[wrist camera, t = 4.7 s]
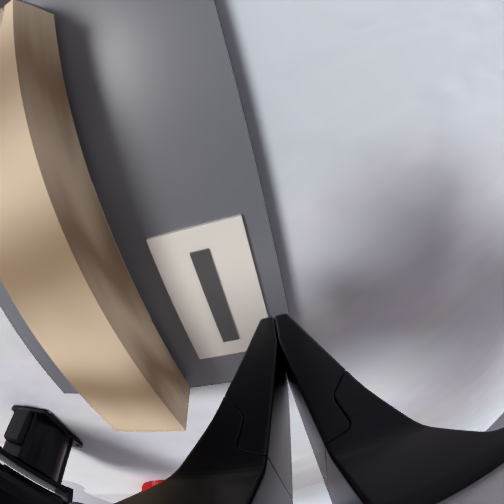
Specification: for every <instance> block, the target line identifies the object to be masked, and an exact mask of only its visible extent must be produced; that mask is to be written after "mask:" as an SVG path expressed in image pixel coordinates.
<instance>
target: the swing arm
mask: <svg viewBox="0 0 504 504" xmlns="http://www.w3.org/2000/svg"><path fill="white" fill-rule="evenodd" d="M0 279H1V281H2V283H3V285H4V287H5V288H6V290H7V292H8V294H9V296H10V297H11V299H12V301H13V303H14V304H15V306H16V308H17V309H18V311H19V313H20V314H21V316H22V317H23V319H24V321H25V322H26V324H27V325H28V327H29V328H30V330H31V331H32V333H33V334H34V336H35V337H36V339H37V340H38V342H39V343H40V344H41V346H42V347H43V349H44V350H45V351H46V353H47V354H48V355H49V357H50V358H51V359H52V361H53V362H54V363H55V365H56V366H57V367H58V368H59V370H60V371H61V372H62V373H63V375H64V376H65V377H66V378H67V380H68V381H69V382H70V383H71V384H72V386H73V387H74V388H75V389H76V390H77V391H78V392H79V394H80V395H81V396H82V397H83V398H84V399H85V400H86V401H87V402H88V404H89V405H90V406H91V407H92V408H93V409H94V410H95V411H96V412H97V413H98V414H99V415H100V416H101V417H102V418H103V419H104V420H105V421H106V422H107V423H108V424H109V425H110V426H111V427H112V428H113V429H114V430H115V431H128V432H161V431H185V430H186V423H187V413H188V403H189V394H190V386H189V385H188V383H187V381H186V380H185V378H184V376H183V375H182V373H181V372H180V370H179V368H178V366H177V365H176V363H175V361H174V360H173V358H172V356H171V355H170V353H169V351H168V349H167V348H166V346H165V344H164V342H163V340H162V339H161V337H160V335H159V333H158V331H157V329H156V327H155V326H154V324H153V322H152V320H151V318H150V316H149V314H148V312H147V310H146V308H145V306H144V304H143V302H142V300H141V298H140V296H139V294H138V292H137V290H136V288H135V286H134V284H133V282H132V280H131V278H130V275H129V273H128V271H127V269H126V267H125V264H124V262H123V260H122V258H121V255H120V253H119V251H118V248H117V246H116V244H115V241H114V239H113V237H112V234H111V232H110V229H109V227H108V224H107V222H106V219H105V217H104V214H103V211H102V209H101V206H100V203H99V201H98V198H97V195H96V192H95V189H94V187H93V184H92V181H91V178H90V175H89V172H88V169H87V166H86V163H85V159H84V156H83V153H82V150H81V146H80V143H79V139H78V136H77V132H76V129H75V125H74V121H73V117H72V113H71V109H70V105H69V101H68V97H67V92H66V88H65V83H64V78H63V73H62V68H61V62H60V56H59V50H58V44H57V36H56V29H55V20H54V14H52V13H50V12H47V11H45V10H44V9H43V8H42V7H40V6H38V5H35V4H32V3H30V2H27V1H24V0H0Z"/></svg>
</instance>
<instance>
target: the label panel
mask: <svg viewBox="0 0 504 504" xmlns="http://www.w3.org/2000/svg"><path fill="white" fill-rule="evenodd" d="M24 1H27V2H30V3H32V4H35V5H38V6H40V7H42V8H43V9H44V10H45V11H47V12H50V13H52V14H54V20H55V29H56V36H57V44H58V50H59V56H60V62H61V68H62V73H63V78H64V83H65V88H66V92H67V97H68V101H69V105H70V109H71V113H72V117H73V121H74V125H75V129H76V132H77V136H78V139H79V143H80V146H81V150H82V153H83V156H84V159H85V163H86V166H87V169H88V172H89V175H90V178H91V181H92V184H93V187H94V189H95V192H96V195H97V198H98V201H99V203H100V206H101V209H102V211H103V214H104V217H105V219H106V222H107V224H108V227H109V229H110V232H111V234H112V237H113V239H114V241H115V244H116V246H117V248H118V251H119V253H120V255H121V258H122V260H123V262H124V264H125V267H126V269H127V271H128V273H129V275H130V278H131V280H132V282H133V284H134V286H135V288H136V290H137V292H138V294H139V296H140V298H141V300H142V302H143V304H144V306H145V308H146V310H147V312H148V314H149V316H150V318H151V320H152V322H153V324H154V326H155V327H156V329H157V331H158V333H159V335H160V337H161V339H162V340H163V342H164V344H165V346H166V348H167V349H168V351H169V353H170V355H171V356H172V358H173V360H174V361H175V363H176V365H177V366H178V368H179V370H180V372H181V373H182V375H183V376H184V378H185V380H186V381H187V383H188V385H189V386H190V387H198V386H206V385H213V384H220V383H227V382H232V380H233V378H234V376H235V374H236V371H237V369H238V367H239V365H240V363H241V361H242V359H243V357H244V354H245V352H246V350H247V348H248V346H249V344H250V341H251V339H252V337H253V335H254V333H255V331H256V328H257V326H258V324H259V322H260V320H261V319H263V318H267V317H275V316H276V315H280V314H285V313H286V314H288V315H289V311H288V306H287V302H286V297H285V292H284V287H283V283H282V278H281V273H280V268H279V264H278V259H277V255H276V250H275V245H274V241H273V236H272V232H271V227H270V223H269V218H268V214H267V210H266V205H265V201H264V196H263V192H262V188H261V183H260V179H259V175H258V171H257V166H256V162H255V158H254V154H253V150H252V145H251V141H250V137H249V133H248V129H247V125H246V121H245V117H244V113H243V109H242V105H241V101H240V97H239V93H238V89H237V85H236V81H235V77H234V73H233V69H232V66H231V62H230V58H229V54H228V50H227V47H226V43H225V39H224V35H223V32H222V28H221V24H220V21H219V17H218V14H217V10H216V6H215V3H214V0H24ZM0 307H1V308H2V310H3V312H4V313H5V315H6V316H7V318H8V320H9V321H10V323H11V324H12V326H13V327H14V329H15V330H16V332H17V333H18V335H19V336H20V338H21V339H22V341H23V342H24V343H25V345H26V346H27V348H28V349H29V350H30V352H31V353H32V354H33V356H34V357H35V358H36V360H37V361H38V362H39V364H40V365H41V366H42V367H43V369H44V370H45V371H46V372H47V374H48V375H49V376H50V377H51V379H52V380H53V381H54V382H55V383H56V384H57V386H58V387H59V388H60V389H61V390H62V391H63V392H64V393H79V392H78V391H77V390H76V389H75V388H74V387H73V386H72V384H71V383H70V382H69V381H68V380H67V378H66V377H65V376H64V375H63V373H62V372H61V371H60V370H59V368H58V367H57V366H56V365H55V363H54V362H53V361H52V359H51V358H50V357H49V355H48V354H47V353H46V351H45V350H44V349H43V347H42V346H41V344H40V343H39V342H38V340H37V339H36V337H35V336H34V334H33V333H32V331H31V330H30V328H29V327H28V325H27V324H26V322H25V321H24V319H23V317H22V316H21V314H20V313H19V311H18V309H17V308H16V306H15V304H14V303H13V301H12V299H11V297H10V296H9V294H8V292H7V290H6V288H5V287H4V285H3V283H2V281H1V279H0Z"/></svg>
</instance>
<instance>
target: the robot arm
mask: <svg viewBox="0 0 504 504" xmlns="http://www.w3.org/2000/svg"><path fill="white" fill-rule="evenodd" d="M286 374H287V375H286ZM287 378H288V382H289V385H290V388H291V391H292V393H293V396H294V399H295V402H296V405H297V407H298V410H299V413H300V416H301V419H302V421H303V424H304V427H305V430H306V432H307V435H308V438H309V441H310V444H311V446H312V449H313V452H314V455H315V457H316V460H317V463H318V466H319V468H320V471H321V474H322V476H323V479H324V482H325V485H326V487H327V490H328V492H329V496H330V498H331V501H332V504H504V428H501V429H498V430H495V431H489V432H478V431H464V430H454V429H444V428H436V427H429V426H426V425H422V424H420V423H418V422H416V421H414V420H412V419H410V418H409V417H407V416H406V415H404V414H403V413H401V412H400V411H398V410H397V409H395V408H394V407H392V406H391V405H389V404H388V403H386V402H385V401H383V400H382V399H380V398H379V397H378V396H376V395H375V394H373V393H372V392H371V391H369V390H368V389H367V388H365V387H364V386H363V385H362V384H361V383H360V382H358V381H357V380H356V379H355V378H354V377H353V376H352V375H351V374H350V373H349V372H348V371H346V370H345V369H344V368H343V367H342V366H341V365H340V364H339V363H338V362H337V361H336V360H335V359H334V358H333V357H332V356H331V355H329V354H328V353H327V352H326V351H325V350H324V349H323V348H322V347H321V346H320V345H319V344H318V343H317V342H316V341H315V340H314V339H313V338H312V337H311V336H310V335H309V334H308V333H307V332H306V331H305V330H303V329H302V328H301V327H300V326H299V325H298V324H297V323H296V322H295V321H294V320H293V319H292V318H291V317H290V316H289V315H288V314H286V313H285V314H280V315H276V316H275V317H267V318H263V319H261V320H260V322H259V324H258V326H257V328H256V331H255V333H254V335H253V337H252V339H251V341H250V344H249V346H248V348H247V350H246V352H245V354H244V357H243V359H242V361H241V363H240V365H239V367H238V369H237V371H236V374H235V376H234V378H233V380H232V382H231V384H230V386H229V388H228V390H227V392H226V395H225V397H224V398H223V400H222V403H221V405H220V407H219V409H218V410H217V412H216V414H215V416H214V418H213V420H212V421H211V423H210V424H209V426H208V428H207V429H206V431H205V432H204V434H203V435H202V437H201V438H200V440H199V441H198V442H197V444H196V445H195V447H194V448H193V450H192V451H191V452H190V454H189V455H188V457H187V458H186V459H185V461H184V462H183V464H182V465H181V466H180V467H179V468H178V470H177V471H176V472H175V473H173V474H172V475H171V476H170V477H169V478H167V479H165V480H164V481H162V482H160V483H158V484H156V485H154V486H152V487H150V488H148V489H146V490H144V491H142V492H139V493H137V494H135V495H133V496H131V497H129V498H126V499H124V500H122V501H119V502H117V503H114V504H293V500H292V499H293V494H292V462H291V437H290V415H289V396H288V382H287ZM12 410H13V411H14V414H13V416H12V419H11V421H10V423H9V425H8V428H7V430H6V432H5V435H4V437H5V439H6V442H5V444H4V447H3V449H2V447H1V446H0V460H2V461H3V462H4V463H6V464H7V465H9V466H10V467H12V468H13V469H15V470H17V471H18V472H20V473H22V474H23V475H25V476H26V477H28V478H30V479H32V480H33V481H35V482H37V483H39V484H40V485H42V486H44V487H46V488H48V489H50V490H52V491H54V492H55V493H53V492H51V491H49V490H47V489H45V488H43V487H42V486H40V485H38V484H36V483H34V482H33V481H31V480H29V479H27V478H26V477H24V476H22V475H21V474H19V473H18V472H16V471H14V470H13V469H11V468H10V467H8V466H7V465H2V464H1V463H0V504H83V503H79V502H72V498H73V489H71V488H69V487H66V486H64V485H61V482H62V478H63V475H64V471H65V467H66V464H67V460H68V457H69V454H70V450H71V447H72V446H74V447H80V448H82V445H83V444H82V443H81V442H80V441H79V440H78V439H77V438H76V437H74V436H73V435H72V434H71V433H70V432H69V431H68V430H67V429H66V428H64V427H63V426H62V425H61V424H60V423H59V422H58V421H57V420H56V419H55V418H54V417H53V416H52V415H51V414H50V413H49V412H47V411H45V410H40V409H33V408H26V407H19V406H13V407H12Z"/></svg>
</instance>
